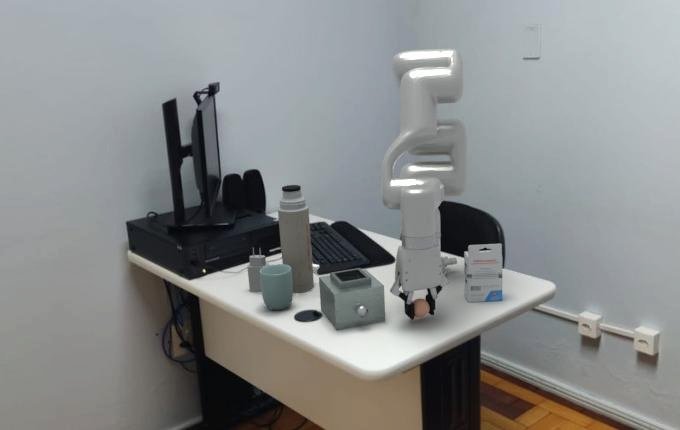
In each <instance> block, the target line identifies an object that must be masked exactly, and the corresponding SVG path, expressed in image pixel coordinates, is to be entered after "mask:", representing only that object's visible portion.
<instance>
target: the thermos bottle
mask: <svg viewBox="0 0 680 430" xmlns="http://www.w3.org/2000/svg"><path fill="white" fill-rule="evenodd" d="M301 189H302V186H301V185H299V184H289V185H288V184H287V185H284V186H281V191H282V197H281V198H280V199H279V207H278V208H277V217H278V227H279V228H278V229H279V239H280V251H281V261H282V264H285V265H289V266H290V267H291V269H292V279H293V294H302V293H307V292H310V291H312V290H314V287H315V283H314V281H315V280H314V273H313V266H312V263H313V254H312V253H313V251H311V249H312V240H311V224H310V222H311V221H310V212H309V211H310V210H309V206H308V205H307V204H306V203H307V201H306V198H305V197H304V196H302V190H301Z"/></svg>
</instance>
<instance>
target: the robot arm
mask: <svg viewBox="0 0 680 430" xmlns="http://www.w3.org/2000/svg"><path fill="white" fill-rule="evenodd" d="M391 64H392V65H391V67H392V74H393V76H394V77H393V78H394V79H395V80H394V81H395V83H396V86H397V88H398V90H399V92H400V133H399V135H398V137H396V139H395V140H394V141H393V142H392V143H391V145H389V147H388V149H387V151H386V152H385V155H384V156H383V160H382V163H381V176H380V177H381V178H380V181H381V182H380V183H381V184H380V186H381V187H380V190H381V191H380V192H381V193H380V194H381V195H380V197H381V201H382V204H383V206H384V207H386V209H388V210H393V211H394V210H397V211H398V210H399V211H400V229H401V230H400V233H401V237H400V238H401V245H398V246H397V251H396V257H395V268H394V282H393V284H392V285H391V288H389V292H390V293H391V294H392V295H394V296H396V297H398V298H399V299H401V300H402V301H403V302H404V313H405V316H406V317H408V318H409V320H411V321H414V320H415V318H416V317H415V314H414V303H412V302H413V297H414V292H417V291H421V290H426V292H427V294H426V295H425V298H424V300H426V301H427V302H428V304H429V306H430V310H429V313H428V315H430V316H435V310H436V300H437V298H438V295H439V294H440V293H441V291H442V290H443V288H445V287H446V286H447V285H448V284H449V279H448V278H447V277H446V276H447V275H448V274H447V269H446V268H447V267H448V266H454V265H456V264H458V259H457V258H456V257H449V256H447V255H446V256H441V255H442V254H441V253H442V252H441V237H442V233H441V213H440V210H439V206H440V205H441V203H442V202H443V201H444V200H445V199H444V198H447V197H449V198H451V197H453V198H455V197H460V196H463V195H465V193H466V192H467V188H468V144H467V143H468V141H467V140H468V138H467V129H466V125H465V123H463V121H462V120H460V119H459V118H439V117H438V105H439V104H456V103H458V102H459V101H460V100H461V98H462V96H463V92H464V65H463V57H462V55H461V52H460V51H459V50H458V49H456V48H437V49H435V48H434V49H433V48H432V49H412V50H406V51H402V52H399V53H397V54H395V55H394V56H393V58H392V61H391ZM405 153H408V154H409V155H412V156H416V157H418V156H419V157H428V156H429V157H431V156H432V157H433V156H446V157H448V158H449V160H423V161H422V160H417V161H412V162H409V163H406V164H404V165H403V166H402V168H401V170H400V173H399V176H394V170H395V166H396V163H397V162H398V160H399V159H400V158H401V157H402V156H403V155H404V154H405ZM400 288H401V289H402V291H401V290H400Z"/></svg>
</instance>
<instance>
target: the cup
mask: <svg viewBox="0 0 680 430" xmlns="http://www.w3.org/2000/svg"><path fill="white" fill-rule="evenodd" d="M260 285H261V292H260V293H261V297H262V300H263V303H264V305H265V306H266V307H267V308H268V309H270V310H275V311H277V310H278V311H279V310H283V309H286V308H287V307H289V306H290V305H291V304H292V301H293V297H294V293H293V279H292V269H291V267H290V266H289V265H285V264H283V263H273V264H269V265H268V266H265V267H263V268H261V269H260Z"/></svg>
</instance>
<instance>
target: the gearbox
mask: <svg viewBox="0 0 680 430" xmlns="http://www.w3.org/2000/svg"><path fill="white" fill-rule="evenodd" d="M318 283H319V299H320V311H321V312H322V314H323V315H324V316H325V318H326V319H327V320H328V321H329V322H330V324H331V325H332V327H333V328H334V330H335V331H340V330H341V331H342V330H344V329H345V330H346V329H350V328H355V327H361V326H366V325H371V324H375V323H381V322H385V321H386V302H385V300H386V299H385V285H384V284H383V282H381V281H380V280H379V279H377V278H376V277H375V276H374V275H373V274H372V273H371V272H370V271H368V269H366V268H363V269H362V268H361V267H356V268H350V269H345V270H339V271H334V272H332V271H331V272H330V273H329V275H321V276H318Z"/></svg>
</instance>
